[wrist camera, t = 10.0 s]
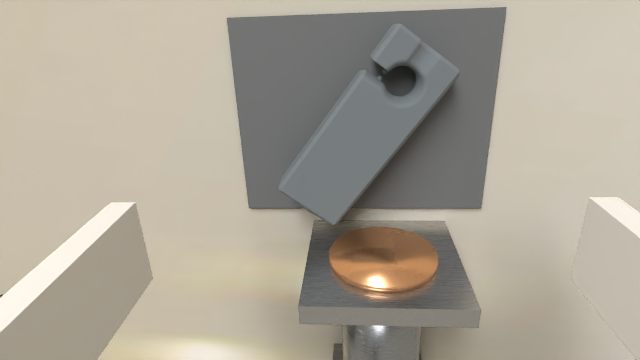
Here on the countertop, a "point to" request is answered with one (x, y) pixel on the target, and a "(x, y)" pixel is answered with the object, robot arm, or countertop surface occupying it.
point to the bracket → (366, 127)
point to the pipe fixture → (385, 286)
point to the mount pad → (354, 55)
